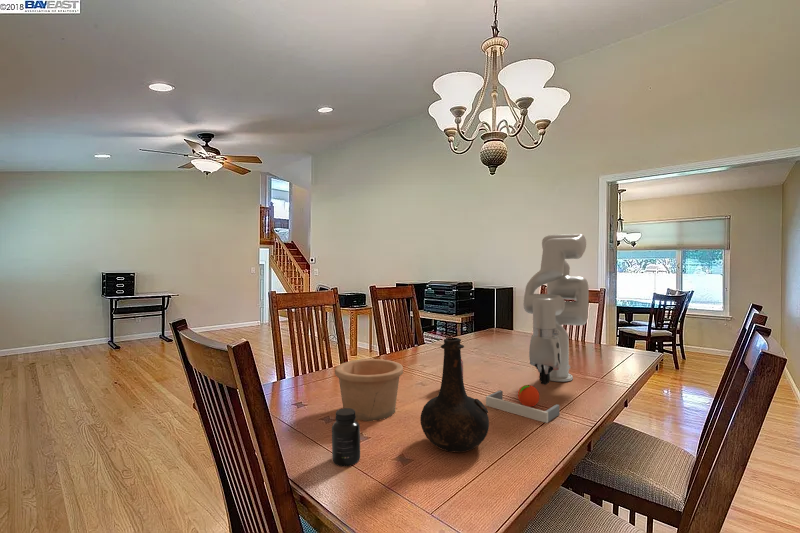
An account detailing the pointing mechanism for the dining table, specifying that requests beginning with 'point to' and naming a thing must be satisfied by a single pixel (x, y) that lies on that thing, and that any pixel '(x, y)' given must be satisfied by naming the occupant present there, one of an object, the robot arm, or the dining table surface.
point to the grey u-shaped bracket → (521, 408)
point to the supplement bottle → (345, 438)
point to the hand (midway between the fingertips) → (544, 383)
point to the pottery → (369, 387)
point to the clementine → (528, 395)
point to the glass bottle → (454, 408)
